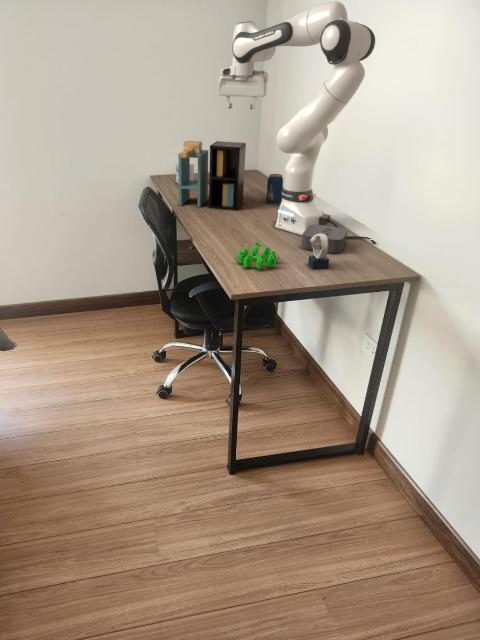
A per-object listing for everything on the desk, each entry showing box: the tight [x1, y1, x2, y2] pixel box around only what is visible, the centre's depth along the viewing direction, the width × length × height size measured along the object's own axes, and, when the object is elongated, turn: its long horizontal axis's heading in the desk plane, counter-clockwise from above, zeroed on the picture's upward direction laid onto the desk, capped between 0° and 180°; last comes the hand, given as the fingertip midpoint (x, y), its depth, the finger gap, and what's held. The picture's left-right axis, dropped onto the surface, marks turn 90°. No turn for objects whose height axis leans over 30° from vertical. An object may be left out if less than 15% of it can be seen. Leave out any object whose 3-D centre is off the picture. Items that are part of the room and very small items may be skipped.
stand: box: [177, 149, 209, 208], centre depth 242 cm, size 12×10×22 cm
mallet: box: [180, 140, 203, 158], centre depth 229 cm, size 15×7×4 cm, turn 162°
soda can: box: [265, 173, 284, 205], centre depth 245 cm, size 7×7×12 cm
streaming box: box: [301, 225, 348, 254], centre depth 198 cm, size 14×14×5 cm
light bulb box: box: [175, 160, 195, 185], centre depth 274 cm, size 11×7×11 cm, turn 17°
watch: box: [307, 233, 330, 270], centre depth 180 cm, size 6×8×11 cm
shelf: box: [208, 140, 247, 211], centre depth 236 cm, size 11×13×26 cm
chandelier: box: [234, 242, 280, 271], centre depth 183 cm, size 15×15×7 cm
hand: (241, 108), depth 223 cm, fingers open, 8 cm apart
